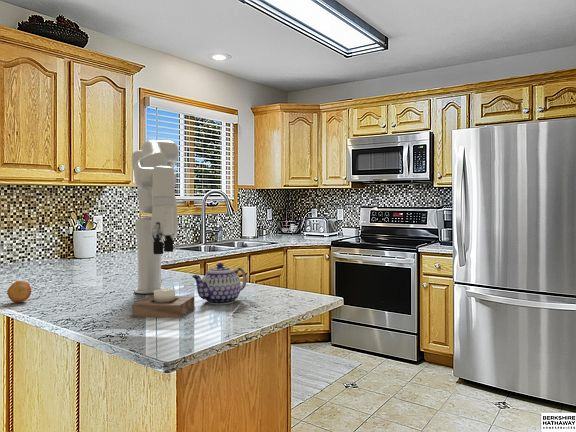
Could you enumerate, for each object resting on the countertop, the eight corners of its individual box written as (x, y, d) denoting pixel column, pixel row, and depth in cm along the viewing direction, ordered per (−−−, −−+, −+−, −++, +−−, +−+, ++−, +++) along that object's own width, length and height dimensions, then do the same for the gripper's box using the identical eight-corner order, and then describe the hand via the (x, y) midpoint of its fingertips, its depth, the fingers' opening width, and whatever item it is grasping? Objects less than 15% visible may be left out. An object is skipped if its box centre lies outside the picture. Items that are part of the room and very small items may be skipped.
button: (158, 298, 162) (158, 288, 162) (177, 298, 161) (177, 288, 161) (150, 302, 155) (150, 291, 155) (171, 302, 154) (170, 292, 154)
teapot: (235, 295, 190) (235, 258, 190) (258, 300, 178) (258, 261, 178) (181, 303, 173) (181, 263, 173) (203, 309, 161) (202, 267, 161)
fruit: (5, 287, 178) (4, 284, 171) (27, 280, 182) (28, 277, 175) (11, 306, 177) (10, 304, 170) (33, 299, 181) (34, 297, 175)
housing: (151, 306, 167) (151, 295, 167) (194, 307, 165) (194, 296, 165) (132, 316, 151) (132, 304, 151) (179, 317, 149) (179, 305, 149)
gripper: (162, 203, 167) (162, 250, 167) (142, 202, 149) (142, 255, 149) (182, 203, 166) (182, 250, 166) (164, 202, 149) (165, 255, 149)
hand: (163, 252), depth 158 cm, fingers open, 9 cm apart
